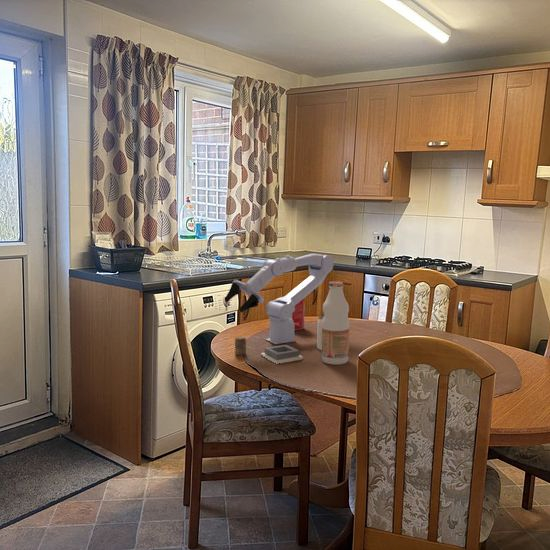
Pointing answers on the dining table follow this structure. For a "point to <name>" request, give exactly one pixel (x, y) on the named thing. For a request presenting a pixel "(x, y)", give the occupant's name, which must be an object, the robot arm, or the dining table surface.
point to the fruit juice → (335, 326)
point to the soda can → (298, 315)
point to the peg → (240, 346)
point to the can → (319, 333)
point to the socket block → (281, 354)
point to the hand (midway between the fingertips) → (232, 305)
